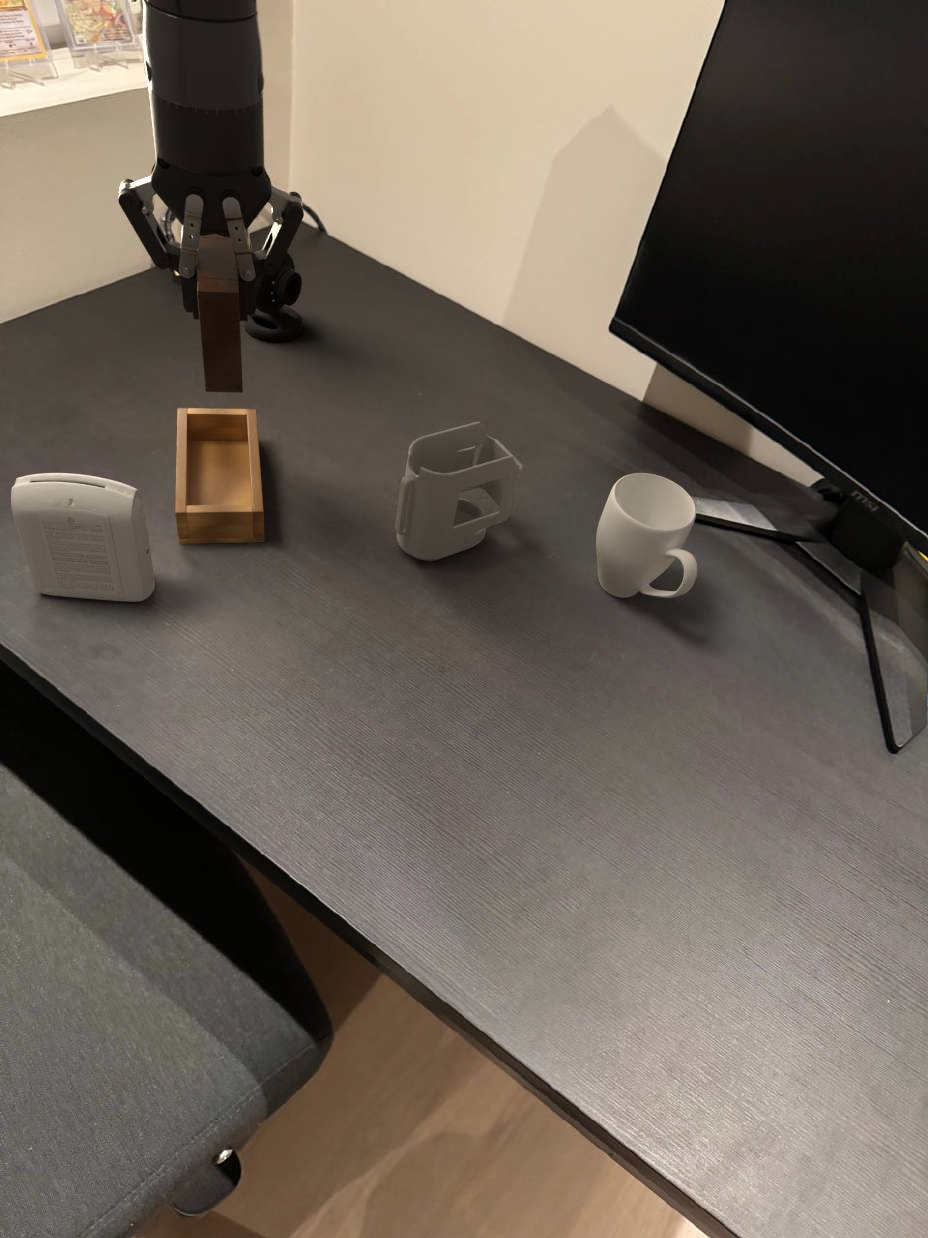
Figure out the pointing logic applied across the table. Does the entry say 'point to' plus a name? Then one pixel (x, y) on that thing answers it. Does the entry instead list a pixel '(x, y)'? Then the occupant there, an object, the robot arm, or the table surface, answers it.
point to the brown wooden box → (219, 314)
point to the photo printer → (83, 536)
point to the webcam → (277, 303)
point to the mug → (644, 535)
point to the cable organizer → (452, 491)
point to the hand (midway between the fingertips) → (220, 314)
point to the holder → (218, 476)
